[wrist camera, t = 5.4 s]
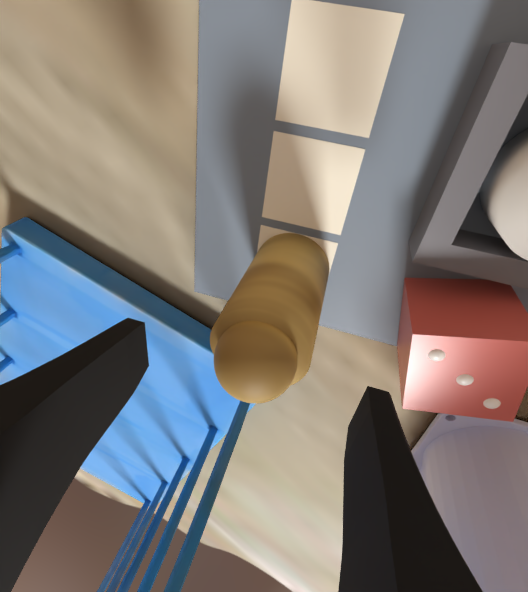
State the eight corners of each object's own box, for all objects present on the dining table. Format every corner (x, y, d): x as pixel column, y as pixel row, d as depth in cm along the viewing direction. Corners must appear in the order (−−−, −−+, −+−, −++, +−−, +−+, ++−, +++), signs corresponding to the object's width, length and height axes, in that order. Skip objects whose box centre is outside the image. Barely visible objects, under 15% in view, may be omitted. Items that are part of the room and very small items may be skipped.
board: (493, 364, 18) (497, 373, 17) (198, 285, 20) (194, 291, 19) (961, -247, 7) (1006, -269, 6) (213, -277, 9) (204, -297, 9)
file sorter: (28, 211, 20) (-512, 450, 8) (280, 363, 22) (159, 759, 9) (12, 409, 35) (-182, 597, 23) (162, 490, 37) (56, 708, 24)
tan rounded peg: (319, 306, 18) (290, 442, 11) (252, 288, 18) (187, 410, 12) (338, 243, 15) (314, 368, 9) (260, 225, 16) (187, 332, 10)
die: (486, 352, 17) (514, 425, 13) (397, 345, 18) (402, 411, 14) (507, 279, 14) (547, 345, 11) (404, 277, 16) (413, 337, 12)
